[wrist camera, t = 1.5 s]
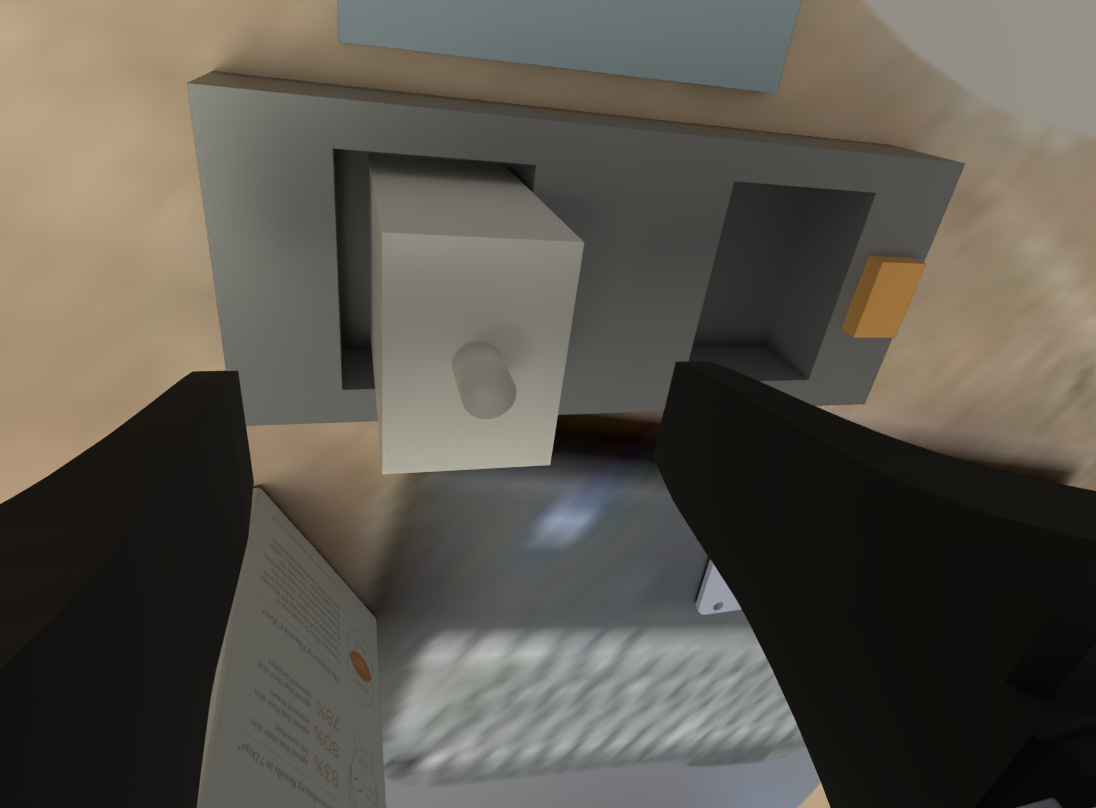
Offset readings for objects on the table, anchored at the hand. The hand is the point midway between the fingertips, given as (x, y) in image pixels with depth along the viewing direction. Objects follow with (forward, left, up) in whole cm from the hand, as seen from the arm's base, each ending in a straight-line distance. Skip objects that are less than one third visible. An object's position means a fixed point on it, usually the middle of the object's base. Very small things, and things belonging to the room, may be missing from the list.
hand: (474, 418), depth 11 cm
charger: (0, 0, -9) cm, 9 cm away
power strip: (-5, 0, -10) cm, 11 cm away
